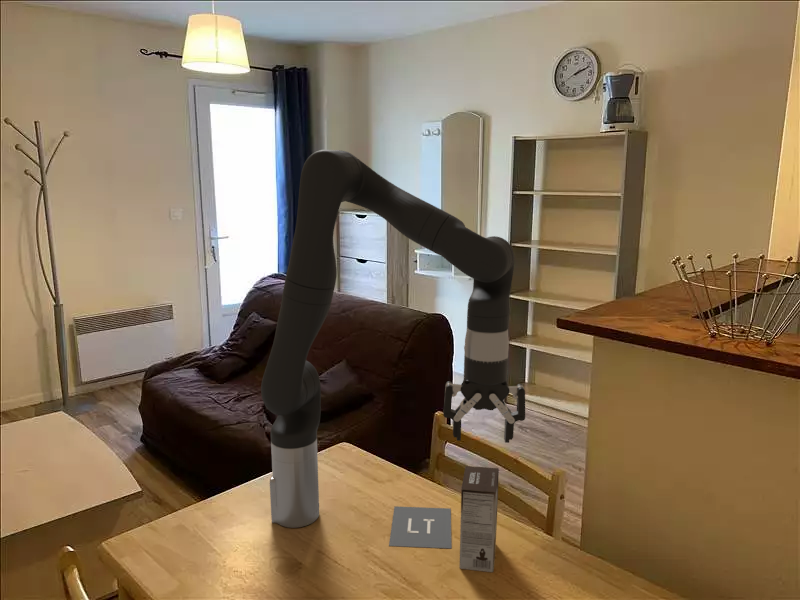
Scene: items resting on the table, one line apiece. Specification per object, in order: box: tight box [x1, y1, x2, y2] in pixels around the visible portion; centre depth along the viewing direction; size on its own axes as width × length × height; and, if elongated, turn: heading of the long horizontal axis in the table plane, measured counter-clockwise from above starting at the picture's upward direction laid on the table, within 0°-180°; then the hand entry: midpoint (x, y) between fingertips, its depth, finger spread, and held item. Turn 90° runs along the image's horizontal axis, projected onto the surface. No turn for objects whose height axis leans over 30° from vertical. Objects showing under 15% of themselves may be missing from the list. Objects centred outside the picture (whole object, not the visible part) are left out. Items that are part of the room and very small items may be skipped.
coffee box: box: [459, 465, 500, 573], centre depth 113 cm, size 9×6×16 cm
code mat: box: [388, 505, 453, 550], centre depth 124 cm, size 12×14×1 cm
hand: (482, 439), depth 110 cm, fingers open, 8 cm apart
